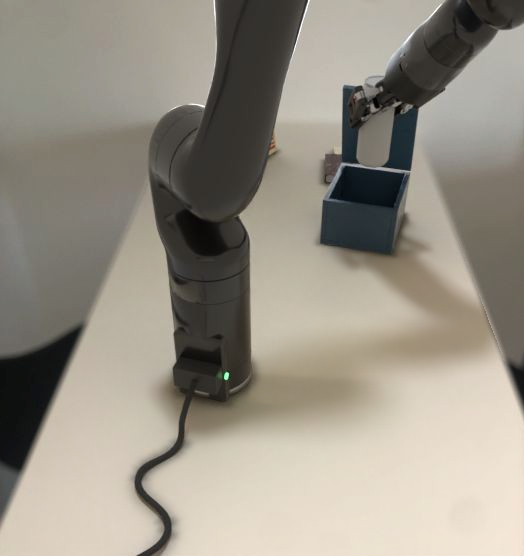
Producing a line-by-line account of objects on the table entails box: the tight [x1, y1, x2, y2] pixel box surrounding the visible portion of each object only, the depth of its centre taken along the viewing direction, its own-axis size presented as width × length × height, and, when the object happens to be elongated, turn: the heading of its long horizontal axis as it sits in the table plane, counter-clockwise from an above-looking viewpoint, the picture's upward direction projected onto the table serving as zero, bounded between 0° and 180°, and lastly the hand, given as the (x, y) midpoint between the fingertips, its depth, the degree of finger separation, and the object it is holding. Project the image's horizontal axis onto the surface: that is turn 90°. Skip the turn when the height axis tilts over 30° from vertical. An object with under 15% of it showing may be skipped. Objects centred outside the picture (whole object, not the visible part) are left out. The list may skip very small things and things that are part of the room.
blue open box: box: [319, 163, 411, 256], centre depth 111 cm, size 14×12×8 cm
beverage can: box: [356, 74, 395, 168], centre depth 98 cm, size 5×5×12 cm
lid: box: [341, 84, 420, 172], centre depth 108 cm, size 14×12×5 cm
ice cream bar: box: [323, 145, 354, 184], centre depth 130 cm, size 5×2×15 cm
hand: (369, 120), depth 100 cm, fingers closed on beverage can, 5 cm apart
